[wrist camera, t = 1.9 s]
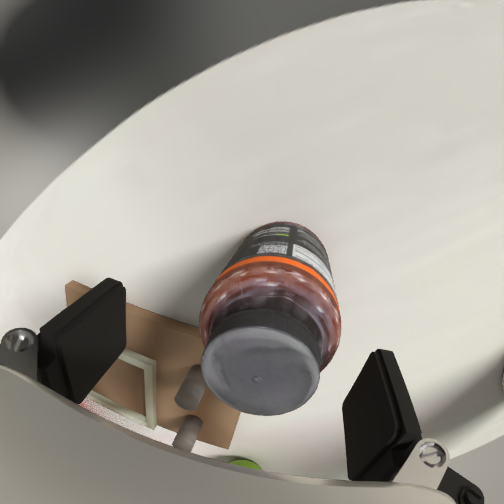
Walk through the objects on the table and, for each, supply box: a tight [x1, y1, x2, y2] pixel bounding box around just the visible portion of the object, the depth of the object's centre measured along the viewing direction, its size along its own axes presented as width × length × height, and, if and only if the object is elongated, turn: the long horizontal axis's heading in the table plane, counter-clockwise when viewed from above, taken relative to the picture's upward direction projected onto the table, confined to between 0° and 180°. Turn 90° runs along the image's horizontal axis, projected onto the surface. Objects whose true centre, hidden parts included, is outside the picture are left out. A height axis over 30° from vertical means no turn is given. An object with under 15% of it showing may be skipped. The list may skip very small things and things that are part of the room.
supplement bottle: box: [199, 222, 341, 416], centre depth 14 cm, size 6×6×11 cm
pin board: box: [65, 281, 241, 452], centre depth 23 cm, size 18×14×5 cm
